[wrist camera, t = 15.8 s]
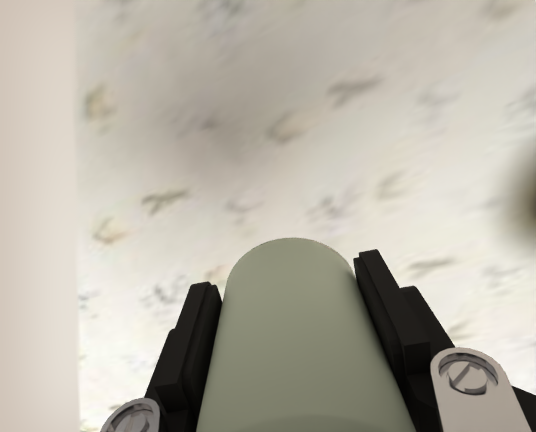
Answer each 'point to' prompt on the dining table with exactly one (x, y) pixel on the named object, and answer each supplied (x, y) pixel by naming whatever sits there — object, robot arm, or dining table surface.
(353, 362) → the tin
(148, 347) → the dining table surface
